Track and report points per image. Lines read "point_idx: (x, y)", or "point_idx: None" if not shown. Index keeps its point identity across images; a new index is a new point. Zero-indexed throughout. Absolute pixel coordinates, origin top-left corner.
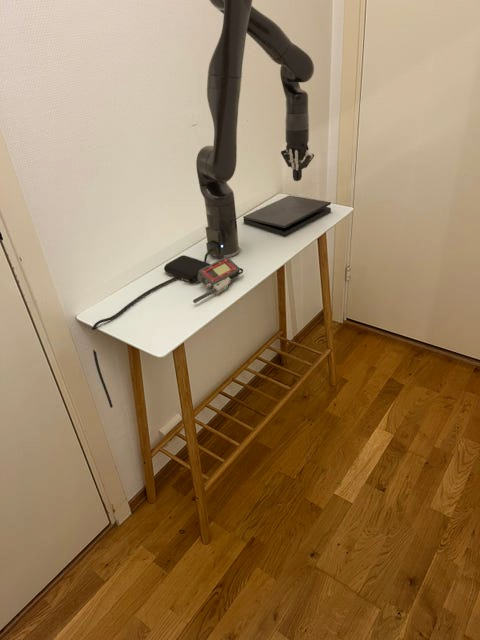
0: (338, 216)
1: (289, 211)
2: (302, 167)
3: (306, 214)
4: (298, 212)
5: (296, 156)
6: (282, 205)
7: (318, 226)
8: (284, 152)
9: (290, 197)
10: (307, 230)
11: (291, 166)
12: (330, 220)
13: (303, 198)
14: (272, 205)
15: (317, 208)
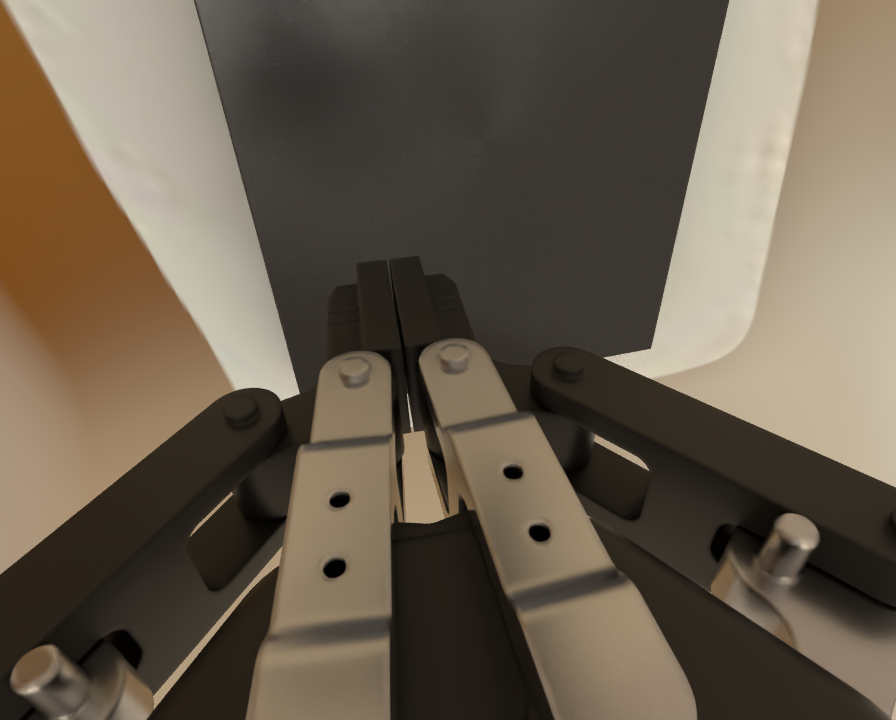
0: (218, 357)
1: (431, 109)
2: (197, 425)
3: (235, 138)
4: (340, 136)
5: (335, 591)
6: (580, 183)
7: (156, 154)
8: (852, 565)
9: (620, 326)
10: (140, 25)
11: (519, 379)
12: (196, 285)
13: (524, 359)
14: (660, 138)
15: (280, 288)
